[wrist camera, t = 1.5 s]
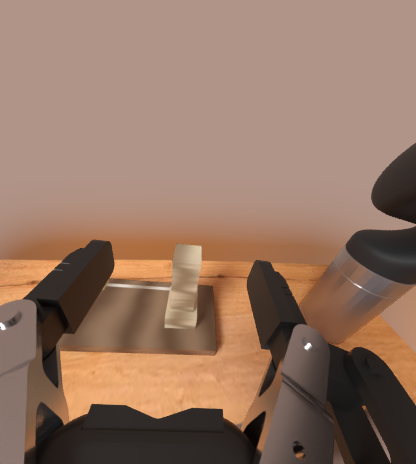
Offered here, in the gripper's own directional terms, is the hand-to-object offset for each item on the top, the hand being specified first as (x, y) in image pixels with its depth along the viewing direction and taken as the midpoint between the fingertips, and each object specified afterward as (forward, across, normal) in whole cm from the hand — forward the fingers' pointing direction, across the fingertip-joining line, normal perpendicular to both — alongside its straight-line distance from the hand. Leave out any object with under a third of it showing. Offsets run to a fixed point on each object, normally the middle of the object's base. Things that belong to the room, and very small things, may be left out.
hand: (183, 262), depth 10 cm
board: (+11, +7, +24) cm, 28 cm away
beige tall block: (+11, 0, +22) cm, 25 cm away
